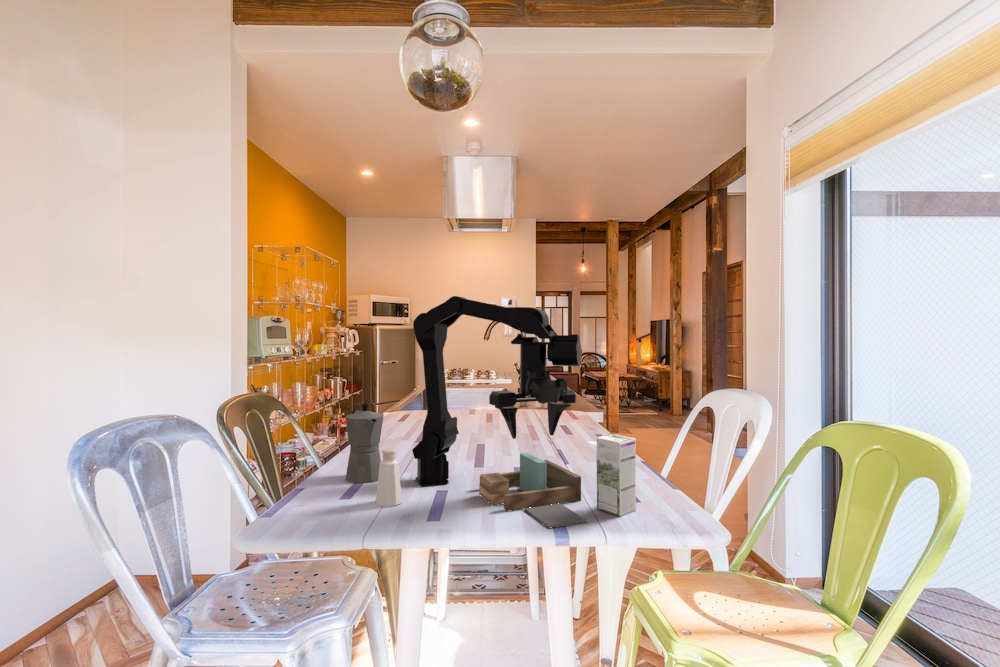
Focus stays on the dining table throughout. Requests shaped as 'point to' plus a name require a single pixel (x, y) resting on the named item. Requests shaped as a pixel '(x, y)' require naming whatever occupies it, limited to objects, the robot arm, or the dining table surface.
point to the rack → (557, 477)
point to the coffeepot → (364, 445)
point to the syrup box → (616, 474)
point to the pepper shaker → (388, 480)
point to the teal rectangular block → (532, 473)
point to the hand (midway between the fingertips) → (533, 436)
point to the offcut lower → (492, 497)
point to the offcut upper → (494, 483)
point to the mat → (555, 515)
